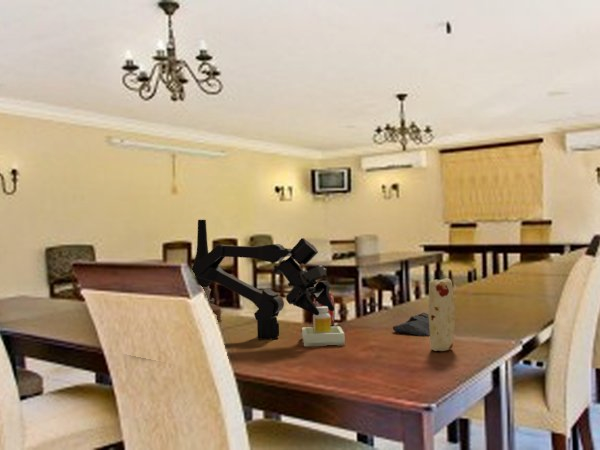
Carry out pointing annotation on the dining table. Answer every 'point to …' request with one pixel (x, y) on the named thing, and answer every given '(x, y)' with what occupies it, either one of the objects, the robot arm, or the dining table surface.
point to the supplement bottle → (322, 321)
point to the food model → (441, 314)
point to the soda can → (328, 309)
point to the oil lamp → (201, 252)
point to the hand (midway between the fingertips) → (326, 312)
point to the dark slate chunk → (415, 325)
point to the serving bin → (323, 337)
